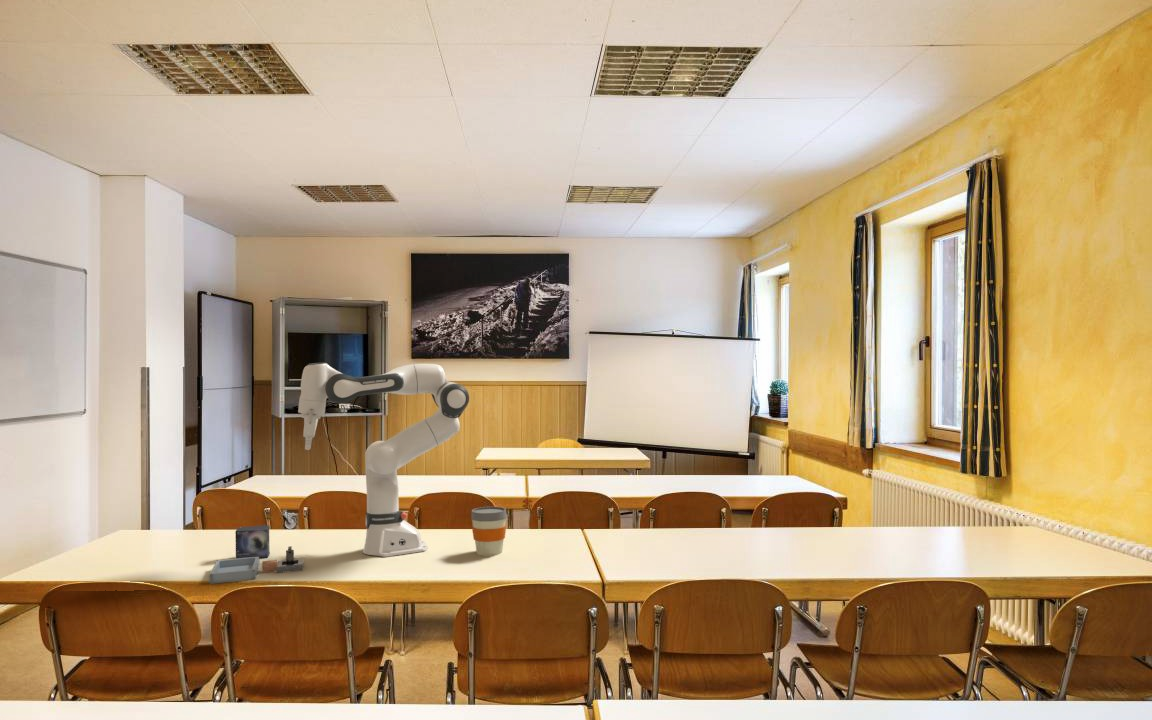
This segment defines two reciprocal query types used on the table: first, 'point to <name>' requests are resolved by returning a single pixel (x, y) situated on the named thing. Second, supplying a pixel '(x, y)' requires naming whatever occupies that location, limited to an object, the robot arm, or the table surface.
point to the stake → (289, 556)
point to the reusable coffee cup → (489, 529)
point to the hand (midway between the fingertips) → (307, 448)
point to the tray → (234, 570)
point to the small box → (252, 542)
